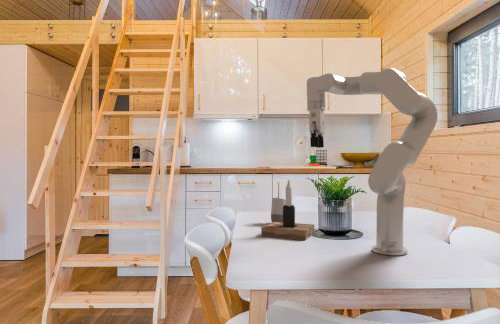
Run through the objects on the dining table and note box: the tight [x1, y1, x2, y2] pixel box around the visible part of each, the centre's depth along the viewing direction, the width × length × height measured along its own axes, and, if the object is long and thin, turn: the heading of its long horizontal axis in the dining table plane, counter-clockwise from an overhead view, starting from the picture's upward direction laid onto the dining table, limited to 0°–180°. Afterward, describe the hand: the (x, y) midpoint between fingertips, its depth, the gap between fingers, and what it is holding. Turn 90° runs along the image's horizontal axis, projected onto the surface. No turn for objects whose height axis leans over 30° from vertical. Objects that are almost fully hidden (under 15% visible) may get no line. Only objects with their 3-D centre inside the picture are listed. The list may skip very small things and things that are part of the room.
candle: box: [283, 179, 296, 228], centre depth 175 cm, size 5×5×25 cm
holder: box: [260, 221, 315, 241], centre depth 176 cm, size 16×20×4 cm
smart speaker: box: [270, 197, 286, 223], centre depth 202 cm, size 10×9×14 cm
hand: (317, 147), depth 164 cm, fingers open, 9 cm apart
